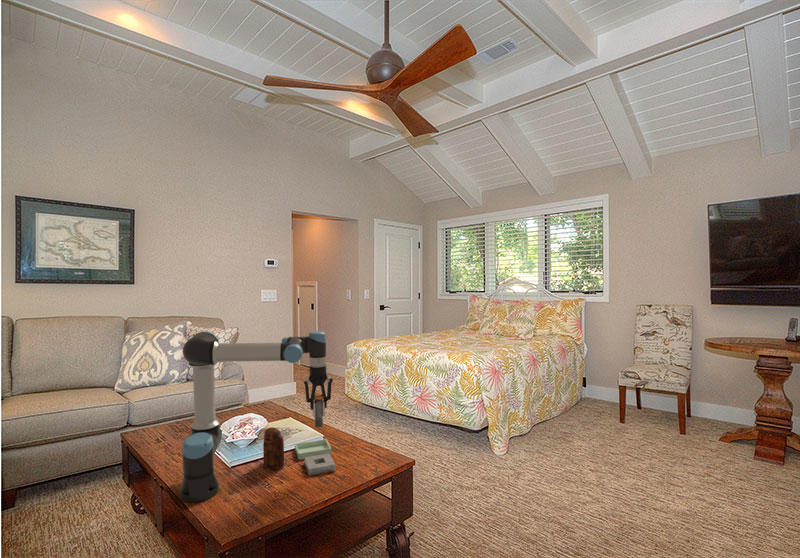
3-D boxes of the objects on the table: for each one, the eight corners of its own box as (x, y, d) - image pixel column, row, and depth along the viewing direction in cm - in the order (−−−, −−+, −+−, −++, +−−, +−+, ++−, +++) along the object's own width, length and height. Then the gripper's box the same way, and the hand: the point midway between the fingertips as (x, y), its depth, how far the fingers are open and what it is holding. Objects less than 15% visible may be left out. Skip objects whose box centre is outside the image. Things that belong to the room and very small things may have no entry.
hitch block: (308, 475, 209) (308, 468, 209) (304, 463, 220) (304, 457, 220) (335, 470, 213) (335, 464, 213) (329, 459, 225) (329, 453, 224)
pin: (314, 428, 212) (313, 397, 211) (312, 424, 217) (311, 394, 216) (325, 426, 214) (325, 396, 213) (323, 422, 219) (322, 393, 218)
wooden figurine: (258, 466, 218) (257, 428, 216) (267, 460, 224) (266, 424, 222) (278, 471, 213) (277, 433, 211) (287, 465, 219) (286, 428, 217)
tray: (298, 459, 224) (298, 453, 224) (294, 449, 235) (294, 443, 235) (331, 454, 230) (331, 448, 230) (326, 444, 241) (326, 438, 241)
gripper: (300, 369, 207) (301, 421, 209) (337, 365, 213) (338, 416, 214) (298, 365, 214) (299, 415, 216) (333, 361, 220) (334, 410, 221)
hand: (318, 415), depth 215 cm, fingers closed on pin, 3 cm apart
